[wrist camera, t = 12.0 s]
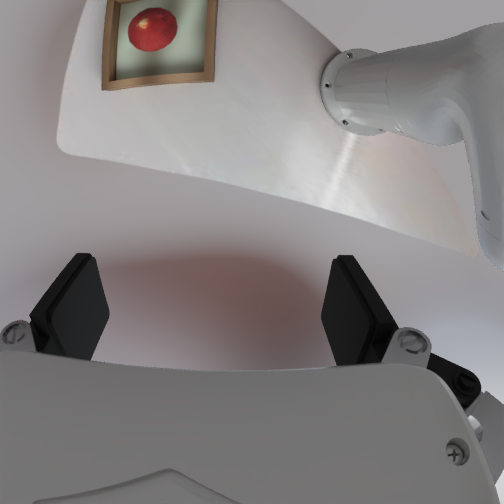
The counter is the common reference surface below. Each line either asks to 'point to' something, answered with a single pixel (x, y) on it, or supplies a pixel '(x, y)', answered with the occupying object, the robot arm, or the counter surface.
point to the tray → (164, 60)
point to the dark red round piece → (152, 29)
